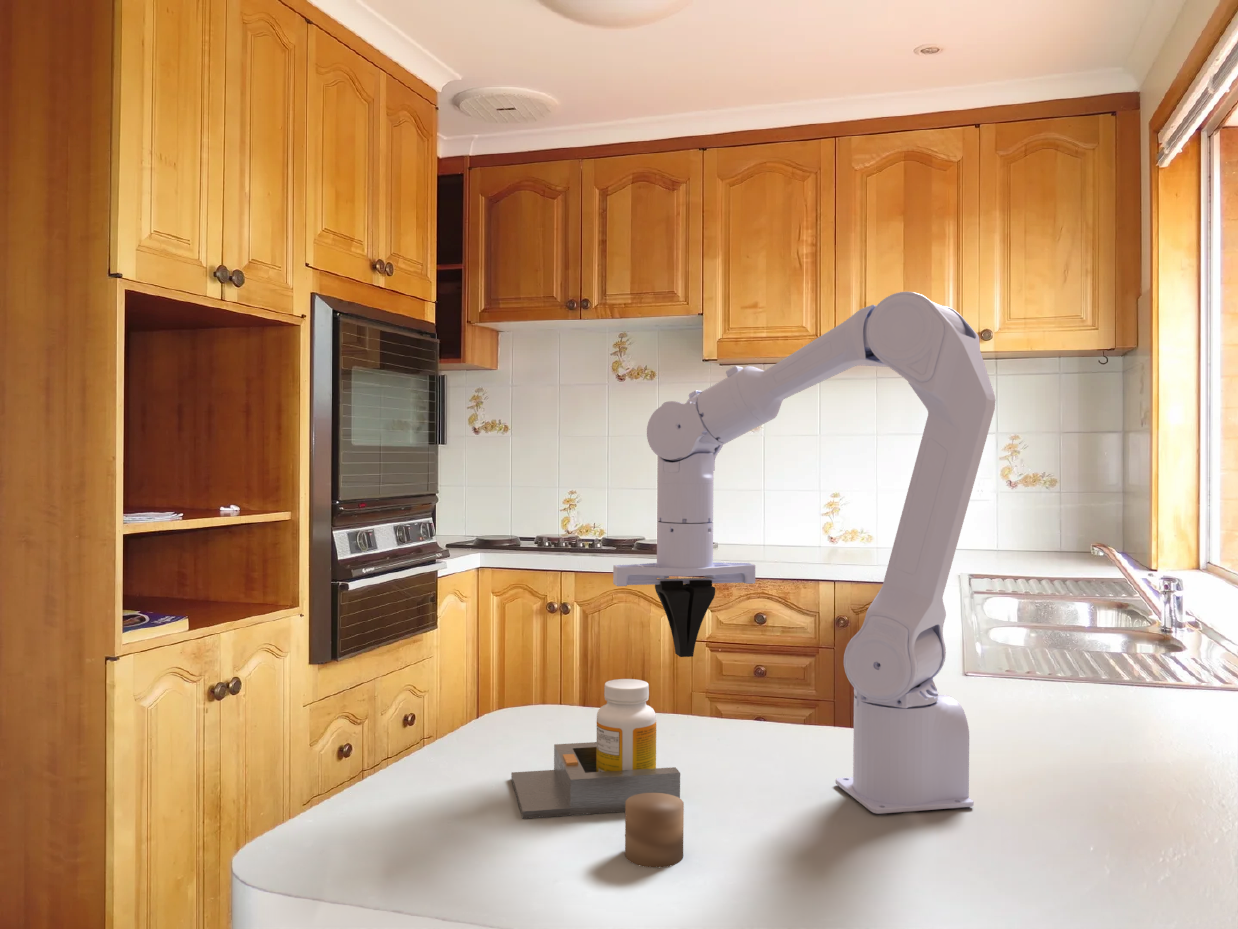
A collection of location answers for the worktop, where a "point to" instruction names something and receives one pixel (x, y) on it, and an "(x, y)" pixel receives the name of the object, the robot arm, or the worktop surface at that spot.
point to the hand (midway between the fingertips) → (684, 655)
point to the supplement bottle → (626, 728)
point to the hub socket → (586, 785)
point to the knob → (654, 829)
